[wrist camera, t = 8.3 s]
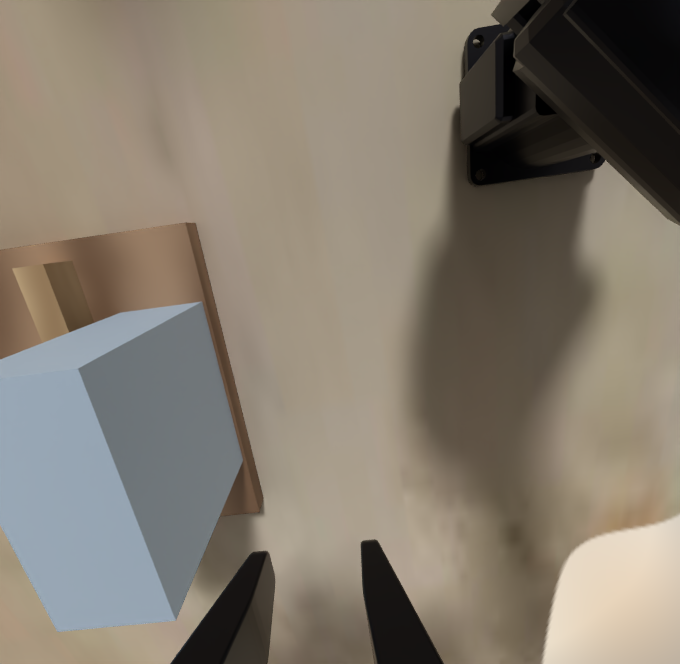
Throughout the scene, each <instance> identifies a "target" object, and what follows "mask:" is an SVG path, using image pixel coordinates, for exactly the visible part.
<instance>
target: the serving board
mask: <svg viewBox="0 0 680 664" xmlns="http://www.w3.org/2000/svg"><path fill="white" fill-rule="evenodd" d="M195 302H202V303H203V307H204V311H205V315H206V319H207V322H208V326H209V330H210V334H211V338H212V342H213V346H214V350H215V353H216V357H217V361H218V365H219V369H220V373H221V377H222V380H223V384H224V388H225V392H226V396H227V400H228V404H229V408H230V411H231V415H232V419H233V423H234V427H235V431H236V435H237V439H238V442H239V446H240V450H241V454H242V458H243V462H242V464H241V467H240V469H239V471H238V474H237V476H236V478H235V481H234V483H233V486H232V488H231V490H230V493H229V495H228V497H227V500H226V502H225V505H224V507H223V509H222V512H221V514H220V516H228V515H237V514H246V513H255V512H259V511H260V508H261V504H262V501H263V495H262V491H261V487H260V483H259V479H258V475H257V471H256V466H255V462H254V458H253V454H252V450H251V446H250V442H249V438H248V434H247V430H246V426H245V422H244V418H243V414H242V410H241V406H240V402H239V398H238V394H237V390H236V386H235V382H234V378H233V374H232V370H231V366H230V361H229V357H228V353H227V349H226V345H225V341H224V337H223V333H222V329H221V325H220V321H219V317H218V313H217V309H216V305H215V301H214V297H213V293H212V289H211V285H210V281H209V277H208V273H207V269H206V265H205V261H204V256H203V252H202V248H201V244H200V240H199V236H198V232H197V228H196V224H195V223H180V224H173V225H167V226H160V227H153V228H146V229H139V230H132V231H126V232H119V233H112V234H105V235H98V236H92V237H85V238H78V239H71V240H64V241H58V242H51V243H44V244H37V245H30V246H23V247H17V248H10V249H3V250H0V359H3V358H5V357H8V356H11V355H13V354H16V353H18V352H21V351H23V350H26V349H28V348H31V347H34V346H36V345H39V344H41V343H44V342H46V341H49V340H52V339H54V338H57V337H59V336H62V335H64V334H67V333H69V332H72V331H75V330H77V329H80V328H82V327H85V326H87V325H90V324H93V323H95V322H98V321H100V320H103V319H105V318H108V317H111V316H113V315H116V314H118V313H122V312H129V311H136V310H144V309H151V308H158V307H166V306H173V305H181V304H188V303H195Z"/></svg>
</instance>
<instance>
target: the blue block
mask: <svg viewBox="0 0 680 664" xmlns="http://www.w3.org/2000/svg"><path fill="white" fill-rule="evenodd" d="M242 462H243V458H242V454H241V450H240V446H239V442H238V439H237V435H236V431H235V427H234V423H233V419H232V415H231V411H230V408H229V404H228V400H227V396H226V392H225V388H224V384H223V380H222V377H221V373H220V369H219V365H218V361H217V357H216V353H215V350H214V346H213V342H212V338H211V334H210V330H209V326H208V322H207V319H206V315H205V311H204V307H203V303H202V302H195V303H188V304H181V305H173V306H166V307H158V308H151V309H144V310H136V311H129V312H122V313H118V314H116V315H113V316H111V317H108V318H105V319H103V320H100V321H98V322H95V323H93V324H90V325H87V326H85V327H82V328H80V329H77V330H75V331H72V332H69V333H67V334H64V335H62V336H59V337H57V338H54V339H52V340H49V341H46V342H44V343H41V344H39V345H36V346H34V347H31V348H28V349H26V350H23V351H21V352H18V353H16V354H13V355H11V356H8V357H5V358H3V359H0V525H1V527H2V529H3V531H4V533H5V535H6V537H7V538H8V540H9V542H10V544H11V546H12V548H13V550H14V551H15V553H16V555H17V557H18V559H19V561H20V563H21V565H22V566H23V568H24V570H25V572H26V574H27V576H28V578H29V580H30V581H31V583H32V585H33V587H34V589H35V591H36V593H37V594H38V596H39V598H40V600H41V602H42V604H43V606H44V608H45V609H46V611H47V613H48V615H49V617H50V619H51V621H52V622H53V624H54V626H55V628H56V630H57V632H61V631H72V630H82V629H93V628H103V627H114V626H124V625H135V624H146V623H156V622H167V621H176V619H177V616H178V614H179V612H180V609H181V607H182V604H183V602H184V600H185V597H186V595H187V593H188V590H189V588H190V585H191V583H192V581H193V578H194V576H195V574H196V571H197V569H198V566H199V564H200V562H201V559H202V557H203V554H204V552H205V550H206V547H207V545H208V543H209V540H210V538H211V535H212V533H213V531H214V528H215V526H216V524H217V521H218V519H219V516H220V514H221V512H222V509H223V507H224V505H225V502H226V500H227V497H228V495H229V493H230V490H231V488H232V486H233V483H234V481H235V478H236V476H237V474H238V471H239V469H240V467H241V464H242Z"/></svg>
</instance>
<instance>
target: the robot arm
mask: <svg viewBox="0 0 680 664" xmlns="http://www.w3.org/2000/svg"><path fill="white" fill-rule="evenodd" d="M491 15H492V16H493V17H494V18H495V19H496V20H497V21H498V22H499V23H500V24H499V25H493V26H487V27H481V28H477V29H475V30H473V31H472V32H471V33H470V35H469V36H468V38H467V40H466V42H465V46H464V57H465V77H464V78H463V79H462V81H461V82H460V85H459V88H460V120H461V141H462V142H463V143H464V145H467V169H468V181H469V183H470V184H471V185H473V186H477V187H478V186H485V185H492V184H499V183H506V182H513V181H519V180H526V179H533V178H540V177H547V176H554V175H561V174H567V173H574V172H581V171H588V170H593V169H596V168H599V167H600V166H601V165H602V164H603V163H604V161H605V160H606V161H607V162H608V163H609V164H610V165H611V166H612V167H614V168H615V169H616V170H617V171H618V172H619V173H620V174H621V175H622V176H623V177H624V178H625V179H626V180H627V181H628V182H629V183H630V184H631V185H632V186H633V187H634V188H636V189H637V190H638V191H639V192H640V193H641V194H642V195H643V196H644V197H645V198H646V199H647V200H648V201H649V202H650V203H651V204H652V205H653V206H654V207H655V208H656V209H658V210H659V211H660V212H661V213H662V214H663V215H664V216H665V217H666V218H667V219H669V220H670V221H672V222H674V223H676V224H678V225H679V226H680V0H501V1H500V3H499V4H498V6H497V7H496V9H495V10H494V11H493V13H492V14H491ZM474 39H477V40H479V41H480V43H481V48H475V47H474V45H473V40H474ZM592 154H593V155H594V156H595V160H594V162H593V163H591V162H590V156H591V155H592ZM478 170H479V171H481V172H482V173H483V177H482V179H481V180H478V179H476V176H475V175H476V172H477V171H478ZM361 563H362V585H363V595H364V601H365V608H366V614H367V620H368V626H369V633H370V639H371V645H372V651H373V657H374V664H444V663H443V661H442V659H441V657H440V655H439V654H438V652H437V650H436V648H435V646H434V644H433V642H432V641H431V639H430V637H429V635H428V633H427V631H426V629H425V628H424V626H423V624H422V622H421V620H420V618H419V616H418V615H417V613H416V611H415V609H414V607H413V605H412V604H411V602H410V600H409V598H408V596H407V594H406V592H405V591H404V589H403V587H402V585H401V583H400V581H399V579H398V578H397V576H396V574H395V572H394V570H393V568H392V566H391V565H390V563H389V561H388V559H387V557H386V555H385V553H384V552H383V550H382V548H381V546H380V544H379V542H378V541H377V540H375V539H374V540H364V541H362V542H361ZM274 592H275V574H274V570H273V566H272V562H271V558H270V555H269V553H268V551H258V552H253V553H251V554H250V555H249V557H248V558H247V559H246V561H245V562H244V563H243V565H242V566H241V568H240V569H239V570H238V572H237V573H236V574H235V576H234V577H233V579H232V580H231V581H230V583H229V584H228V585H227V587H226V588H225V590H224V591H223V592H222V594H221V595H220V596H219V598H218V599H217V600H216V602H215V603H214V605H213V606H212V607H211V609H210V610H209V611H208V613H207V614H206V616H205V617H204V618H203V620H202V621H201V622H200V624H199V625H198V626H197V628H196V629H195V631H194V632H193V633H192V635H191V636H190V637H189V639H188V640H187V642H186V643H185V644H184V646H183V647H182V648H181V650H180V651H179V653H178V654H177V655H176V657H175V658H174V659H173V661H172V662H171V663H170V664H267V663H268V655H269V646H270V635H271V624H272V613H273V602H274Z"/></svg>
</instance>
